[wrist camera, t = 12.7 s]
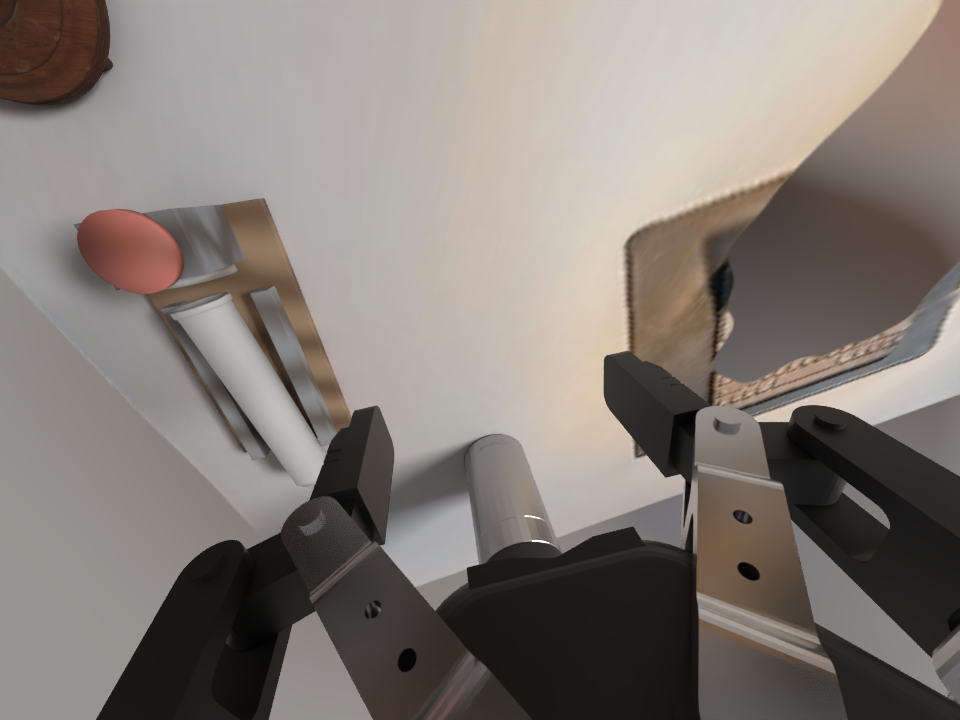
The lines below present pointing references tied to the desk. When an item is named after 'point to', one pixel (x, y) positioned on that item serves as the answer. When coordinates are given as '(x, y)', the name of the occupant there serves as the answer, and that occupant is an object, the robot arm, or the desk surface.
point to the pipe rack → (216, 269)
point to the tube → (253, 383)
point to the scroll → (52, 49)
